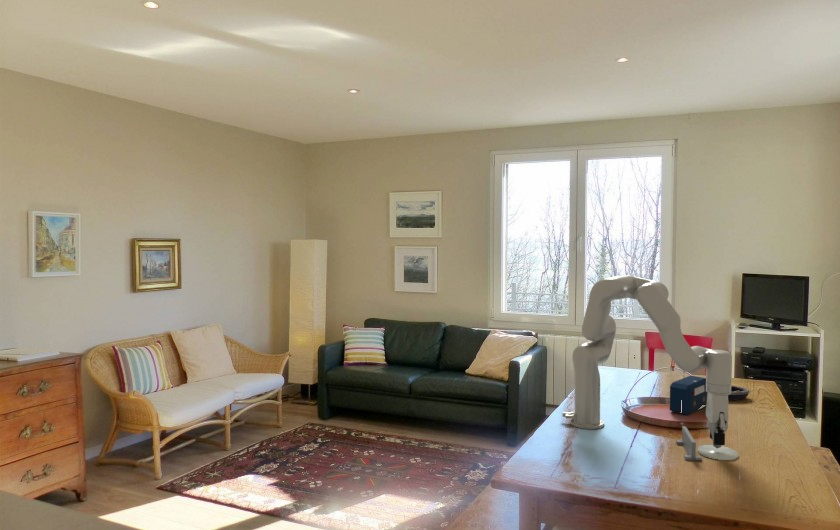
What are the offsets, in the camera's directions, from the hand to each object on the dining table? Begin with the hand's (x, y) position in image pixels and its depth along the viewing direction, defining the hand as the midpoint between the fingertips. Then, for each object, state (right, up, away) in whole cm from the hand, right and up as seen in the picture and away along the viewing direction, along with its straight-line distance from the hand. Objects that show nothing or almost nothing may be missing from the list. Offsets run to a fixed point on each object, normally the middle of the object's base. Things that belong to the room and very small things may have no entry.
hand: (717, 441), depth 196 cm
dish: (+31, 0, +67) cm, 74 cm away
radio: (+13, -1, +48) cm, 50 cm away
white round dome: (0, -4, 0) cm, 4 cm away
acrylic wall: (-9, -4, +2) cm, 10 cm away
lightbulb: (0, -3, 0) cm, 3 cm away
